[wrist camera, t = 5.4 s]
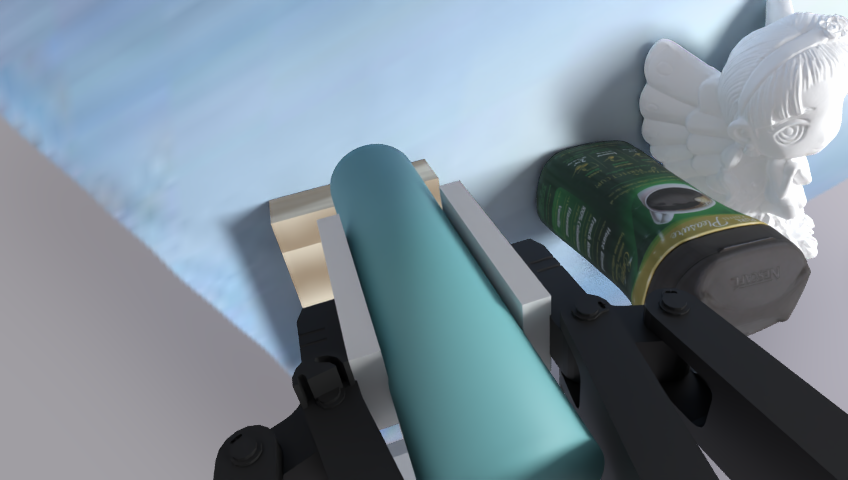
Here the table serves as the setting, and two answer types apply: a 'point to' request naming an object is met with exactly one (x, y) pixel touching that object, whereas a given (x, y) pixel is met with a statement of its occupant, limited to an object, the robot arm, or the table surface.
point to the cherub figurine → (752, 115)
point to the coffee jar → (668, 235)
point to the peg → (451, 338)
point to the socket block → (316, 235)
